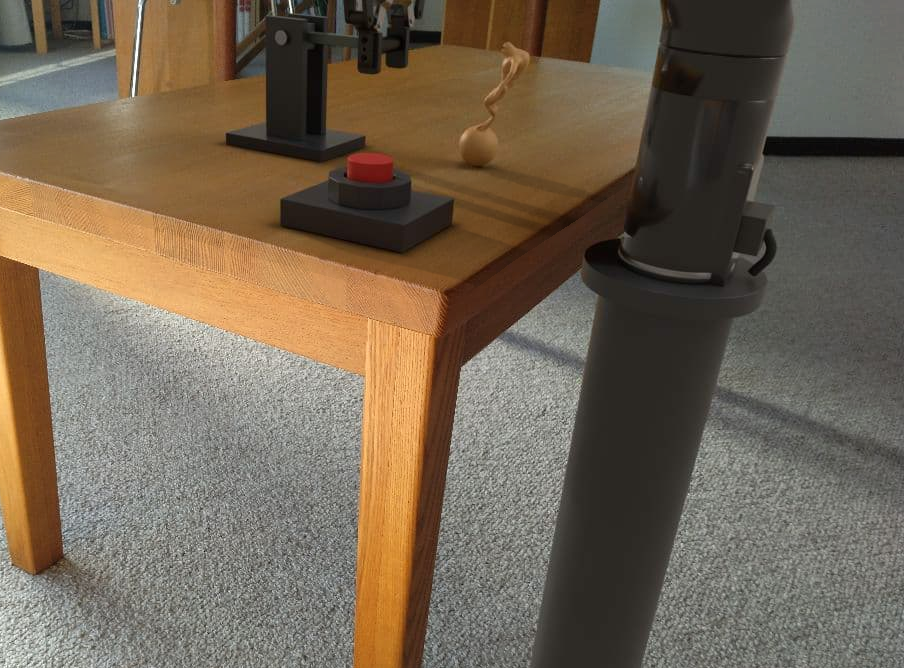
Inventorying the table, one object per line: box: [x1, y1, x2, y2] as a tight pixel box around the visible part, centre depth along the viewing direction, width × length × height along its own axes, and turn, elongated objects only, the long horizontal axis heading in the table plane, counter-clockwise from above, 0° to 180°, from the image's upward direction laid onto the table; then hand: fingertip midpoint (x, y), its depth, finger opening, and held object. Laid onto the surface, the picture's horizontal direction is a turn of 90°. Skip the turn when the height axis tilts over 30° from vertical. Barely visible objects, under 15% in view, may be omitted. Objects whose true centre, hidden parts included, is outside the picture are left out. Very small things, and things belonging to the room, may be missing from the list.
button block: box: [279, 166, 455, 254], centre depth 71 cm, size 11×9×4 cm
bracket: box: [225, 12, 366, 163], centre depth 93 cm, size 12×9×13 cm
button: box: [346, 152, 395, 183], centre depth 70 cm, size 4×4×2 cm
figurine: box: [458, 41, 531, 167], centre depth 89 cm, size 8×6×12 cm
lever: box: [307, 23, 402, 55], centre depth 89 cm, size 12×5×2 cm, turn 61°
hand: (383, 69), depth 88 cm, fingers closed on lever, 5 cm apart
